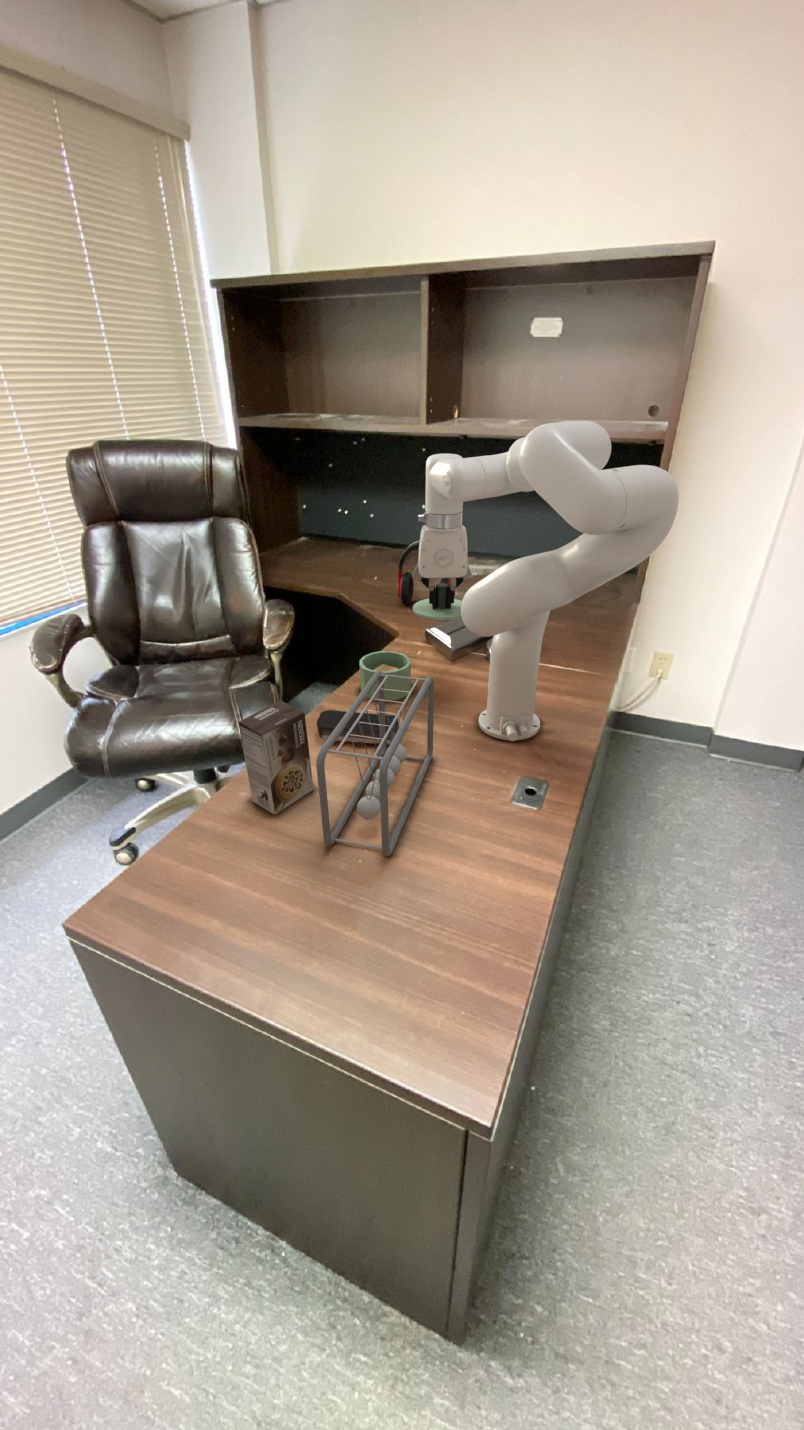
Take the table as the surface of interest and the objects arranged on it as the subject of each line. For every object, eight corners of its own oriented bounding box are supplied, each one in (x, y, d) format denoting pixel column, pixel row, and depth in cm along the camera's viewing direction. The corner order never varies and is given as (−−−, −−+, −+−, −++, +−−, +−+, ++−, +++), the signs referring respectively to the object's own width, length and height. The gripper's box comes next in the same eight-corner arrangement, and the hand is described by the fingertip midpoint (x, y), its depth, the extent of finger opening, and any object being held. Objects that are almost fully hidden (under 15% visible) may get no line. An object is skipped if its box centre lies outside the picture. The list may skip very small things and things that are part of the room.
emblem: (433, 603, 175) (532, 609, 170) (433, 621, 177) (530, 627, 172) (415, 641, 151) (529, 649, 146) (415, 660, 154) (527, 669, 149)
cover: (472, 622, 128) (474, 594, 125) (414, 623, 128) (414, 594, 125) (466, 602, 139) (467, 575, 136) (411, 603, 138) (411, 576, 135)
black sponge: (314, 743, 120) (312, 727, 119) (325, 721, 128) (324, 706, 126) (395, 750, 118) (395, 734, 116) (402, 727, 125) (402, 712, 123)
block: (399, 687, 140) (398, 668, 137) (388, 695, 137) (387, 675, 134) (383, 683, 142) (383, 663, 139) (372, 690, 139) (371, 670, 136)
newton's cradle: (388, 863, 91) (385, 765, 82) (323, 851, 94) (313, 755, 85) (433, 755, 116) (434, 672, 107) (381, 748, 119) (378, 666, 110)
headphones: (455, 601, 192) (458, 537, 182) (451, 612, 184) (453, 545, 174) (401, 598, 195) (400, 535, 185) (395, 608, 187) (393, 543, 177)
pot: (412, 702, 135) (412, 671, 131) (360, 703, 134) (359, 673, 131) (409, 679, 145) (409, 650, 141) (361, 680, 144) (359, 651, 140)
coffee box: (290, 776, 111) (280, 699, 103) (314, 790, 107) (306, 710, 99) (250, 801, 105) (236, 720, 97) (274, 816, 101) (262, 733, 93)
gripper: (404, 525, 120) (404, 613, 129) (486, 524, 120) (480, 612, 129) (403, 516, 126) (403, 601, 136) (480, 515, 127) (476, 600, 136)
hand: (441, 605), depth 132 cm, fingers closed on cover, 2 cm apart
